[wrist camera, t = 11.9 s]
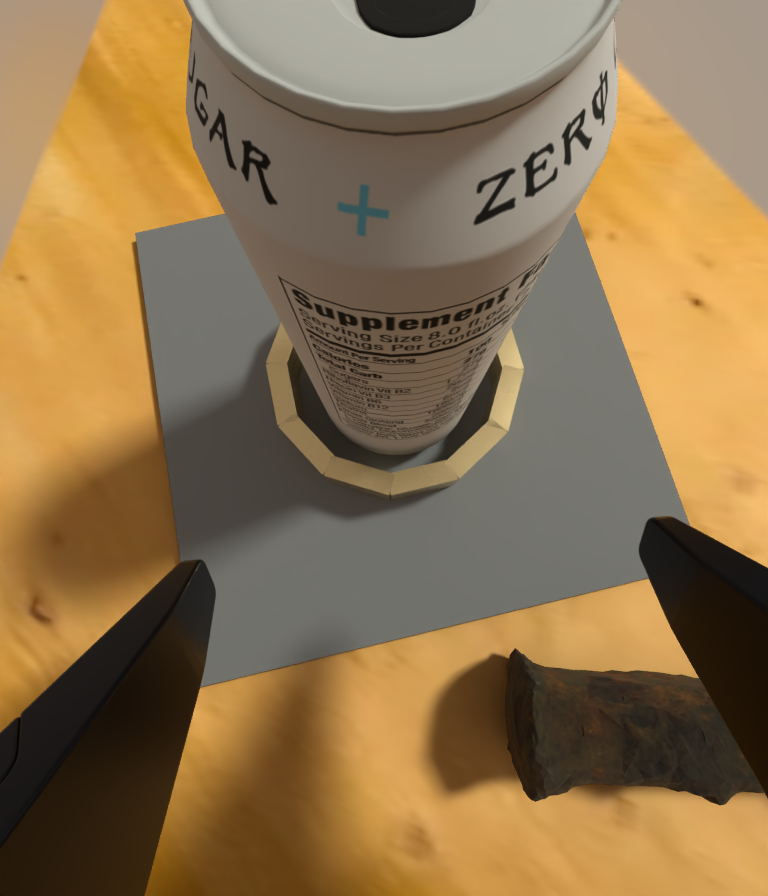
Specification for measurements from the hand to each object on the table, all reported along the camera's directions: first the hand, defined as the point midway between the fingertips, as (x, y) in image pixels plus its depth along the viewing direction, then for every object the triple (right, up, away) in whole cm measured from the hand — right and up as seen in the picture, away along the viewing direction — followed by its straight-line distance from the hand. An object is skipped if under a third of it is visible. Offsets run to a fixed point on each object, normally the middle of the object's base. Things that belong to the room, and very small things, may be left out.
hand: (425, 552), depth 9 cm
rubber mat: (0, +5, +11) cm, 12 cm away
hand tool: (+13, -7, +8) cm, 17 cm away
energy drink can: (0, +5, +10) cm, 11 cm away
